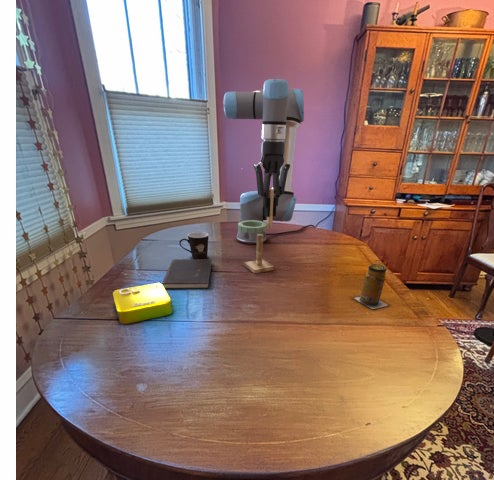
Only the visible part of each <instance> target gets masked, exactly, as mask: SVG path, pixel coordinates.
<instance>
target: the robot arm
mask: <svg viewBox="0 0 494 480" xmlns="http://www.w3.org/2000/svg"><path fill="white" fill-rule="evenodd" d="M223 112H224V113H223V114H224V116H225V117H226V119H231V120H262V126H261V127H262V129H261V139H262V140H263V141H262V142H261V158H260V161H259V162H258V163H253V168H254V171H255V178H256V179H255V180H256V189H257V190H252V191H246V192H243V193H242V194H240V197H239V198H240V199H239V211H240V212H239V222H241V221H247V220H249V221H250V220H256V221H262V222H264V221H267V217H270V198H269V197H268V196H269V189H274V200H273V220H272V222H290V221H291V220H292V219H293V215H294V211H295V208H296V202H297V196H295V192H294V190H293V189H292V184H293V183H292V181H293V170H294V158H295V149H296V139H297V138H296V137H297V131H298V130H299V128H300V127H301V123H303V122H305V93H304V91H303V89H301V88H294V87H291V88H289V81H288V80H286V79H283V78H269V79H266V80H265V81H264V82H263V89H257V90H253V91H235V90H233V91H226V92H225V93H224V96H223ZM263 170H264V171H263ZM271 179H272V181H271ZM271 182H272V187H271ZM249 227H256V226H249ZM309 227H312V228H314V229H315V228H316V226H315V225H314V224H307V225H305V226H302V227H301V228H300V229H296V230H295V229H294V230H289V231H281V232H273V233H272V232H271V233H266V231H264V232H261V233H246V232H242V231H239V230H238V229H237V230H238V231H237V233H236V241H237V242H238V243H241V244H245V245H257V234H263V244H264V243H266V242H267V236H278V235H284V234H292V233H298V232H301V231H302V230H303V229H306V228H309Z"/></svg>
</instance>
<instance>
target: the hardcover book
mask: <svg viewBox="0 0 494 480" xmlns="http://www.w3.org/2000/svg"><path fill="white" fill-rule="evenodd" d="M212 262H213V258H211V259H210V258H207V259H193V258H192V259H189V258H187V259H185V258H184V259H183V258H182V259H177V258H176V259H172V260H171V263H170V265H169V267H168V269H167V271H166V274H165V276H164V278H163V280H162V282H161V284H162V285H163V286H164V288H165V289H166V290H209V289H210V283H211V275H212V267H213V264H212Z"/></svg>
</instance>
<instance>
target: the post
mask: <svg viewBox="0 0 494 480" xmlns="http://www.w3.org/2000/svg"><path fill="white" fill-rule="evenodd" d="M263 247H264V243H263V234H257V244H256V248H255V249H256V252H255V253H256V254H255V255H256V257H255V260H251V261H244V262H243V266H244V267H245V268H246V269H248V270H249V271H250V272H252V273H253V274H259V273H264V272H269V271H270V272H271V271H274V270H275V266H274V265H273V264H272V263H270V262H268V261H267V260H265V259H263Z"/></svg>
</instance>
